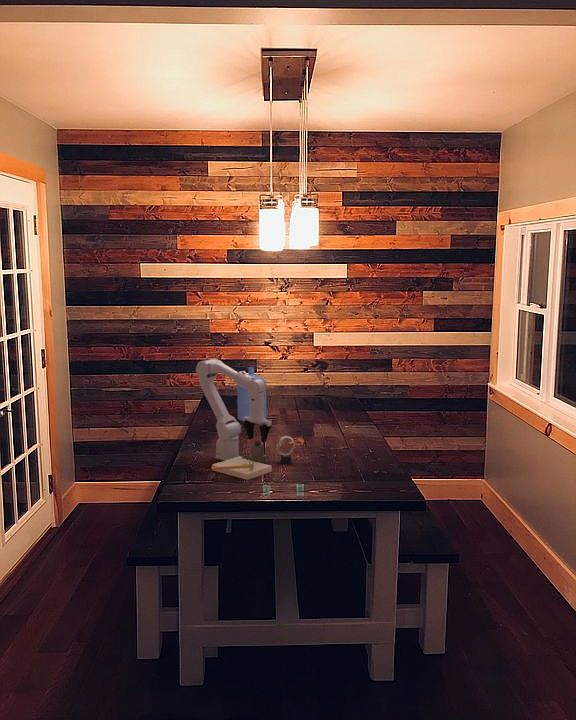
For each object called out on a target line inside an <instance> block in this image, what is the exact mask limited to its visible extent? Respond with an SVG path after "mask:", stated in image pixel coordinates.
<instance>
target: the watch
mask: <svg viewBox="0 0 576 720" xmlns="http://www.w3.org/2000/svg"><path fill="white" fill-rule="evenodd" d="M285 439H289V440H291V441H292V448H291V449H290V451H289V452H285V453H283V452H281V451H280V450H279V449H280V448H281V446H282V445H283V443H284V440H285ZM295 447H296V445H295V440H294V439H293V437H291V436H288V435H284V436H281V437H280V438H279V440H278V441H277V443H276V445H275V448H276V451H277V453H278V454H279V455H280V465H292V454H293V452H294V450H295Z"/></svg>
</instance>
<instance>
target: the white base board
mask: <svg viewBox="0 0 576 720" xmlns="http://www.w3.org/2000/svg"><path fill="white" fill-rule="evenodd" d="M249 463H254V469H253V470H250V469H249V468H240V469H224V470H212V471H215V472H216V473H222V474H225V475H228V476H232V477H235V478H239V479H241V480H242V479H243V480H246V481H249V480H251V479H255V478H257V477H260V476H263V475H265V474H269V473H271V472H272V471H273V468H272V467H273V466H272V465H270V464H267V463H266V464H265V463H264V464H262V463H258V462H254V461H252V460H251V459H246V458H238V457H235V458H232V459H229V460H226V461H224V460H221V461H220V462H217V463H213V464H211V468H212V467H221V466H236V465H249Z"/></svg>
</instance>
